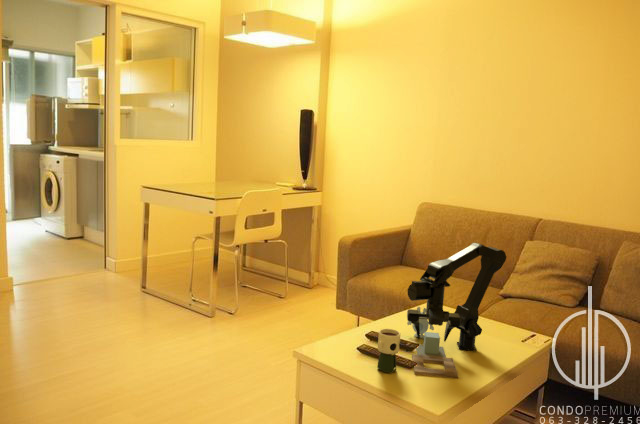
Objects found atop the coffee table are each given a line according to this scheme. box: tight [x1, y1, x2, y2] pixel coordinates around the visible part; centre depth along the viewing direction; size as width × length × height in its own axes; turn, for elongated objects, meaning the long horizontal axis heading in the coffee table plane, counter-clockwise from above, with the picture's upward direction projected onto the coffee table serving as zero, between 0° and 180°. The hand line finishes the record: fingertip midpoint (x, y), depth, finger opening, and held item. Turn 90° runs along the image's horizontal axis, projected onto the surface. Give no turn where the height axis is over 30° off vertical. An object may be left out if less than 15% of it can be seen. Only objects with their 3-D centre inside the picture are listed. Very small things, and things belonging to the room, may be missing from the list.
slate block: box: [422, 331, 441, 354], centre depth 196 cm, size 5×5×6 cm
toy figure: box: [406, 306, 435, 339], centre depth 209 cm, size 11×6×12 cm, turn 63°
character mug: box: [376, 328, 401, 373], centre depth 178 cm, size 11×7×13 cm, turn 139°
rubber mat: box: [415, 344, 447, 357], centre depth 196 cm, size 10×10×1 cm
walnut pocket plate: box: [411, 353, 459, 379], centre depth 183 cm, size 14×14×1 cm
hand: (431, 340), depth 195 cm, fingers open, 9 cm apart
